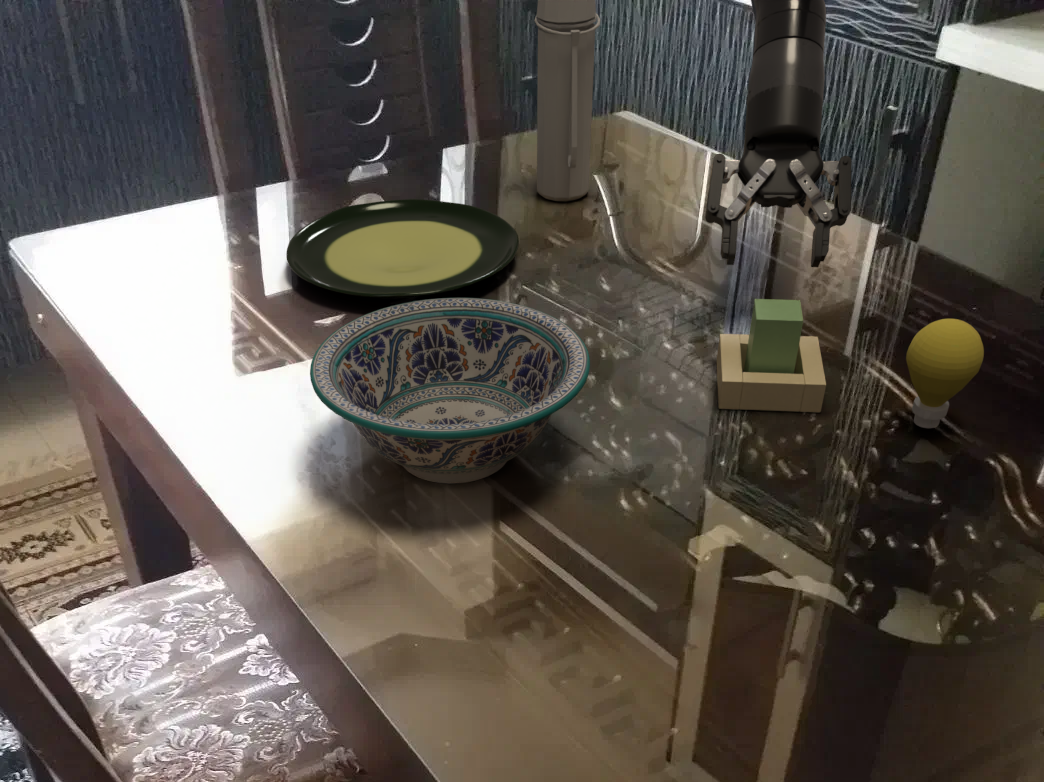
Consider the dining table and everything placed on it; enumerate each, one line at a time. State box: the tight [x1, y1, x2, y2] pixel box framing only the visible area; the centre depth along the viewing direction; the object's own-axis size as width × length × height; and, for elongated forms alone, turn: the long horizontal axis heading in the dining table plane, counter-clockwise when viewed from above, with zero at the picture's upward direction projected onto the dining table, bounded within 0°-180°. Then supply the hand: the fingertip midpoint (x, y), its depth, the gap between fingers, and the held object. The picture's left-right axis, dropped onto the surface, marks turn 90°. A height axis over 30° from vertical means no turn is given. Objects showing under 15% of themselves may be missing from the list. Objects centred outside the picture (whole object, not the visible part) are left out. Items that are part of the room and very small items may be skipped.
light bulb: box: [905, 318, 985, 429], centre depth 107 cm, size 7×7×10 cm
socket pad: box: [715, 333, 827, 413], centre depth 115 cm, size 10×10×3 cm
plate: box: [285, 198, 520, 299], centre depth 138 cm, size 28×28×2 cm
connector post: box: [743, 298, 804, 374], centre depth 114 cm, size 4×4×8 cm
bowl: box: [309, 297, 591, 484], centre depth 106 cm, size 25×25×10 cm
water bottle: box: [533, 0, 601, 202], centre depth 144 cm, size 9×8×25 cm
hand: (773, 263), depth 117 cm, fingers open, 8 cm apart
